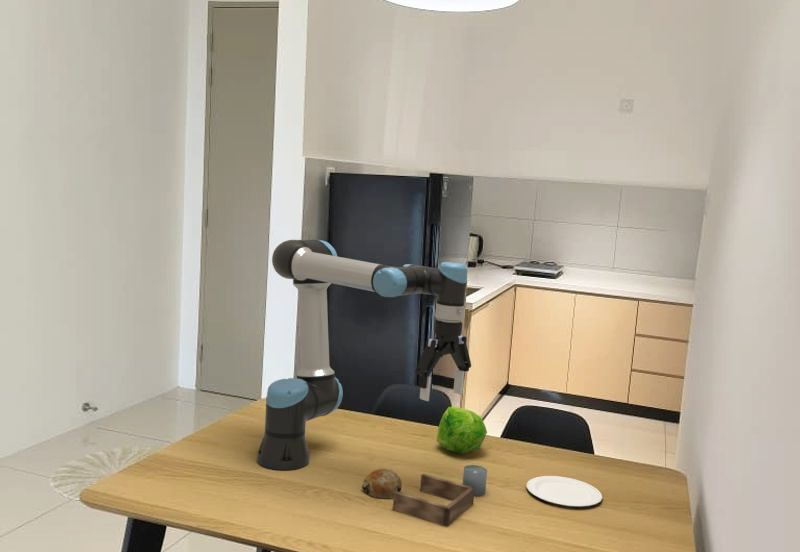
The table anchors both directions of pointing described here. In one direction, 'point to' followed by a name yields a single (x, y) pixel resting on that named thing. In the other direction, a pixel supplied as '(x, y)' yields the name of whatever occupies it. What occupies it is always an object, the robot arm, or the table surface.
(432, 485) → the corral
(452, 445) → the lettuce
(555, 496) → the plate
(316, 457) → the table surface
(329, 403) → the robot arm
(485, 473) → the grey-blue cylinder
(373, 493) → the bread roll
